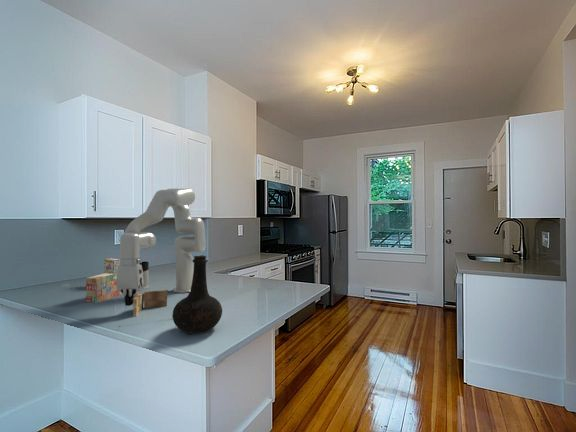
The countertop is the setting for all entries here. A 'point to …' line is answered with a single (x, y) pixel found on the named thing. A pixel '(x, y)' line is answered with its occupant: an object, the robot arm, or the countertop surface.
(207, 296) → the glass bottle
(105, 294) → the stack of blocks
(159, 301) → the fixed fence panel
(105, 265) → the candy bar box
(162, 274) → the countertop surface
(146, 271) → the white and black mug
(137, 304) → the panel
